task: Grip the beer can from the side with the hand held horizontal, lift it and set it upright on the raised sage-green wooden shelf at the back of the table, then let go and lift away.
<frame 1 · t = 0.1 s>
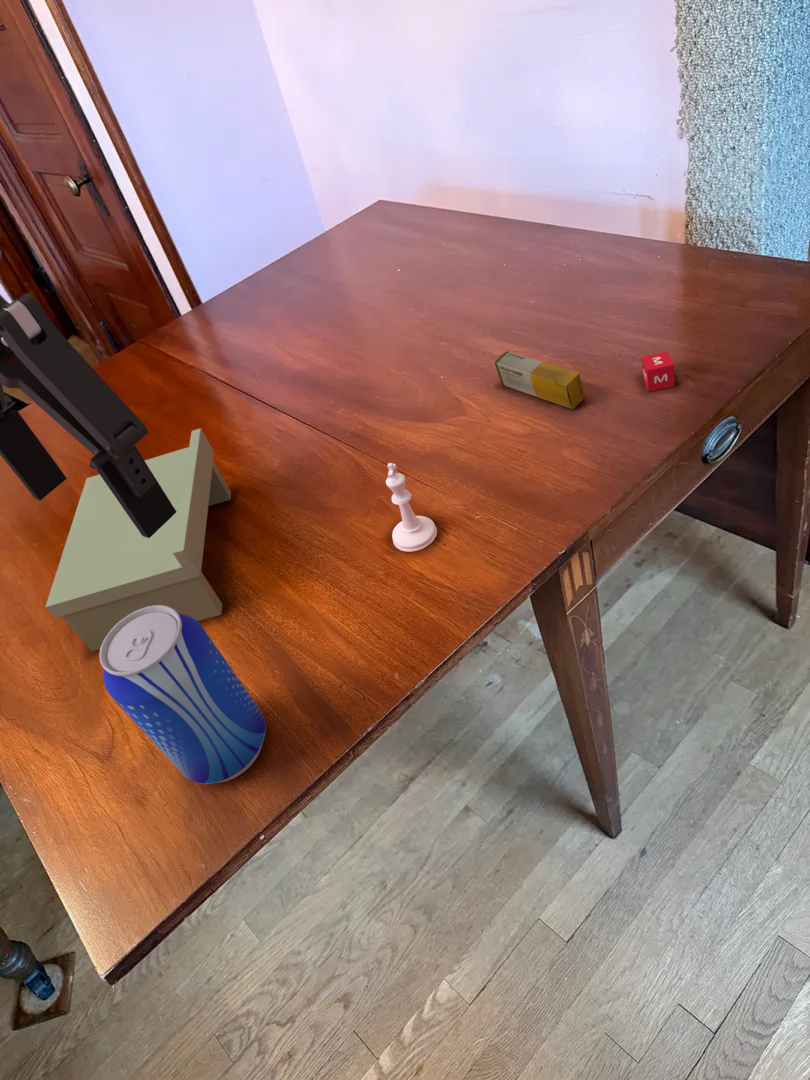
hand: (102, 505, 55), 25 cm above the table, tool pointing down, fingers open, 13 cm apart
red letter cube: (658, 383, 89), on the table
chess piece: (415, 536, 81), on the table
medication box: (541, 395, 94), on the table
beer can: (228, 748, 67), on the table
shelf: (167, 565, 88), on the table
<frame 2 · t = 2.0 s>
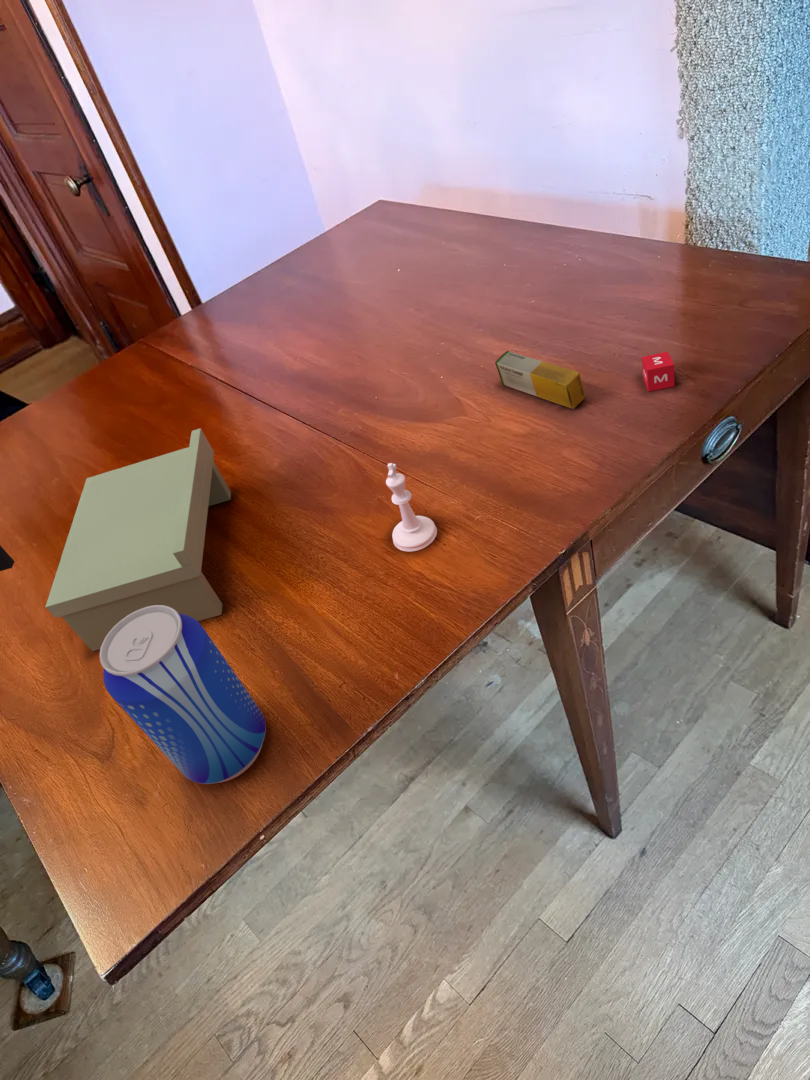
nothing on the table moved.
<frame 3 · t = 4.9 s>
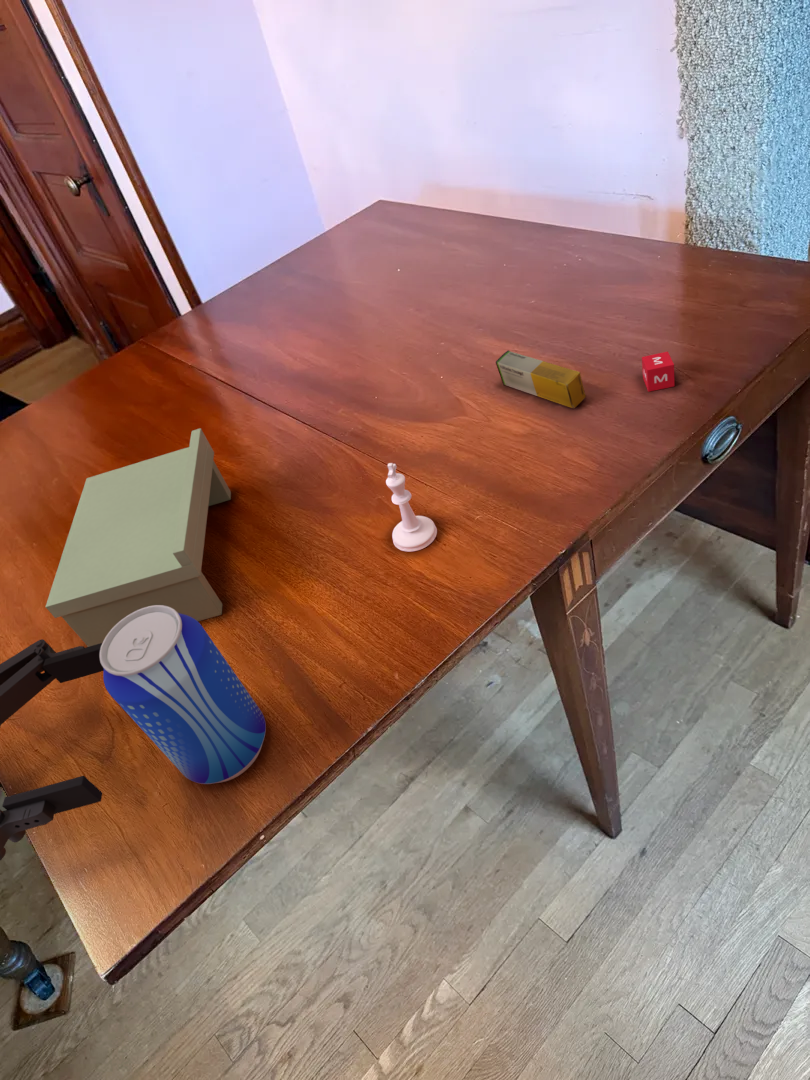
hand: (107, 714, 62), 9 cm above the table, tool horizontal, fingers open, 13 cm apart
nothing on the table moved.
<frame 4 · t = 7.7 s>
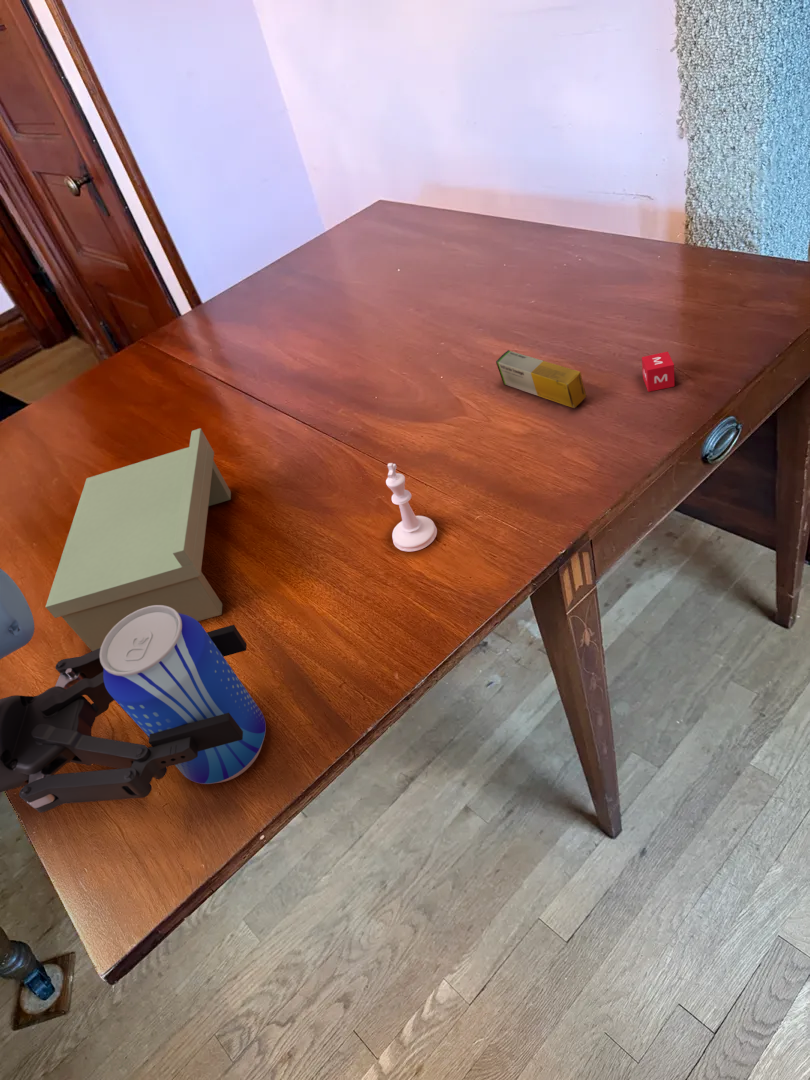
hand: (237, 679, 61), 8 cm above the table, tool horizontal, fingers closed on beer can, 8 cm apart
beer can: (228, 748, 67), on the table, touching gripper
everything else where it was.
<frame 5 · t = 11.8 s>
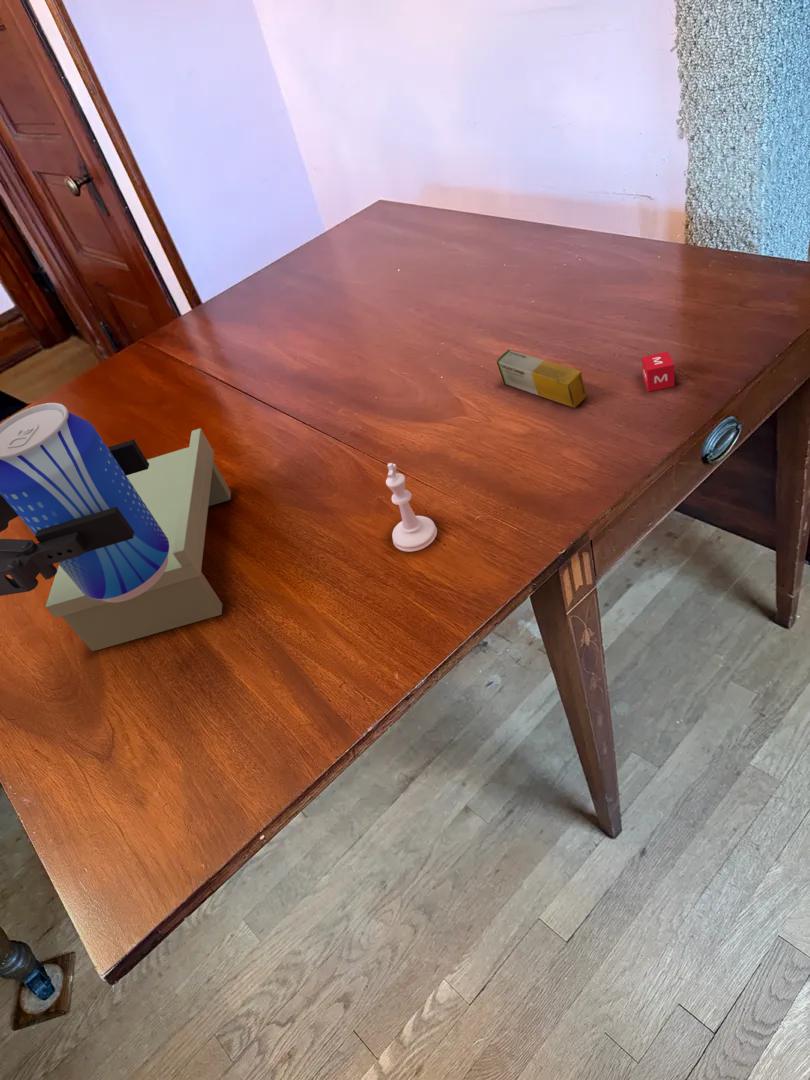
hand: (133, 486, 60), 22 cm above the table, tool horizontal, fingers closed on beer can, 8 cm apart
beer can: (133, 574, 66), point 14 cm above the table, touching gripper
everything else where it was.
when the fingers open (16 cm above the table, at t = 16.1 s): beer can stays where it is, resting on shelf.
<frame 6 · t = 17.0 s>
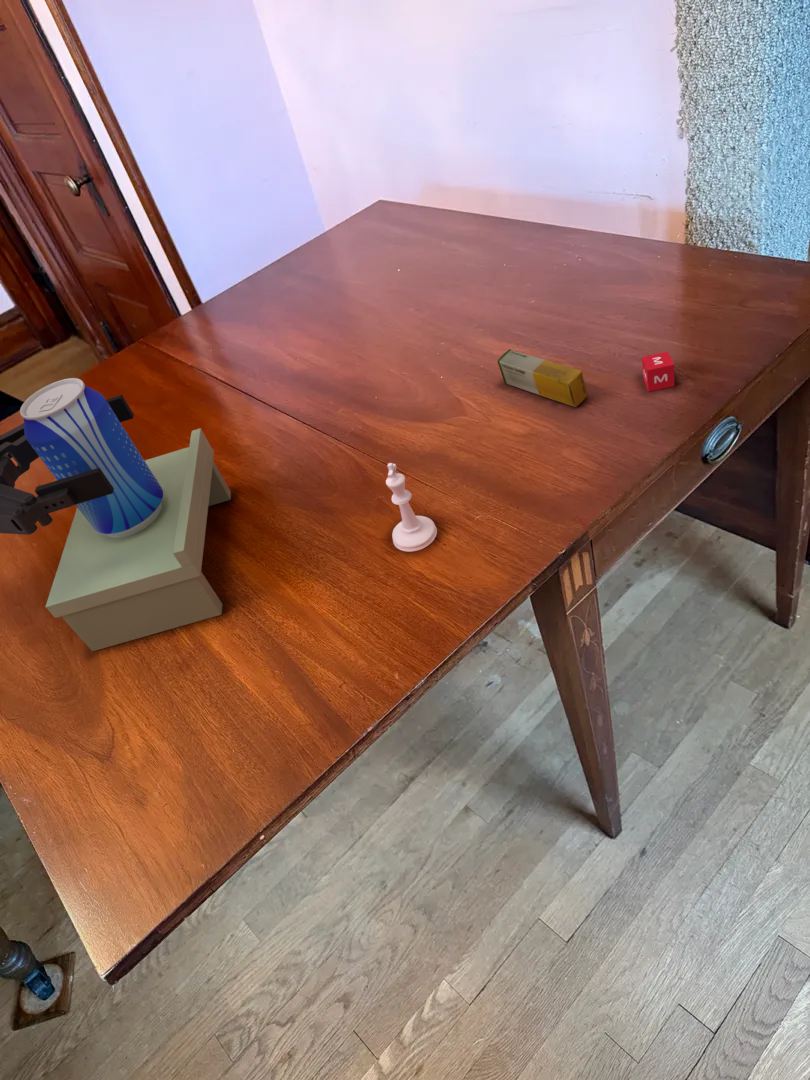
hand: (118, 441, 77), 17 cm above the table, tool horizontal, fingers open, 13 cm apart
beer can: (134, 517, 83), point 8 cm above the table, touching shelf
everything else where it was.
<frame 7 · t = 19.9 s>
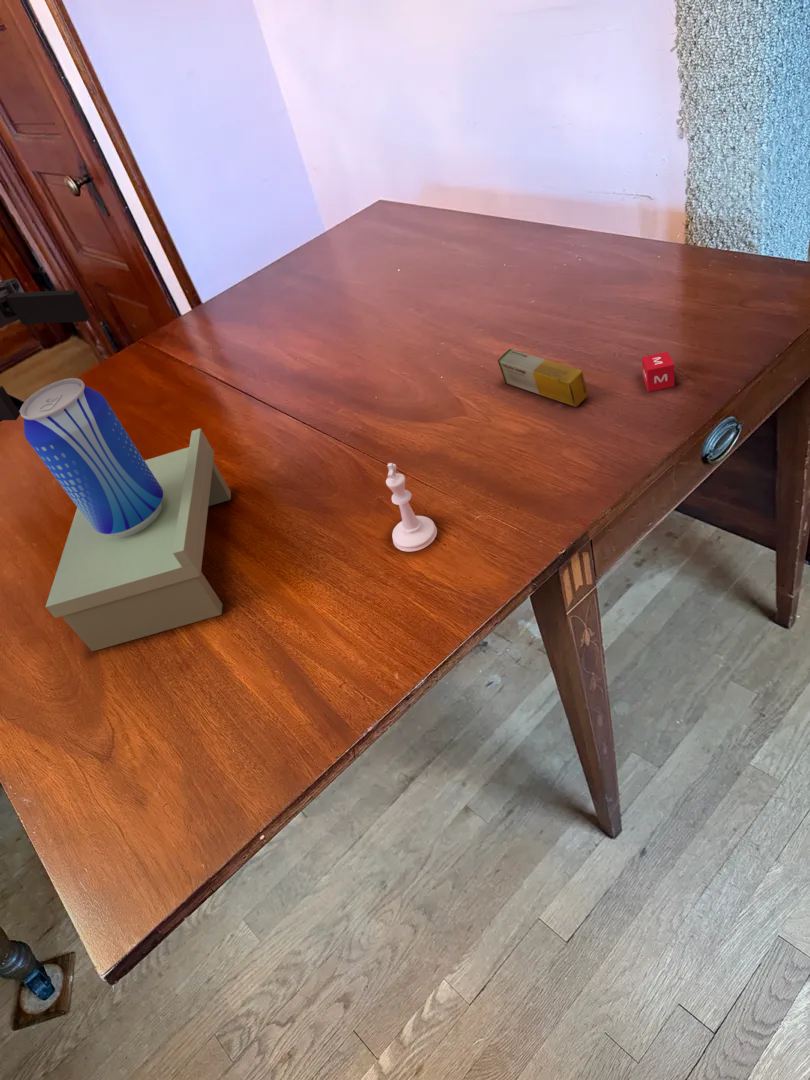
hand: (48, 351, 62), 31 cm above the table, tool horizontal, fingers open, 13 cm apart
nothing on the table moved.
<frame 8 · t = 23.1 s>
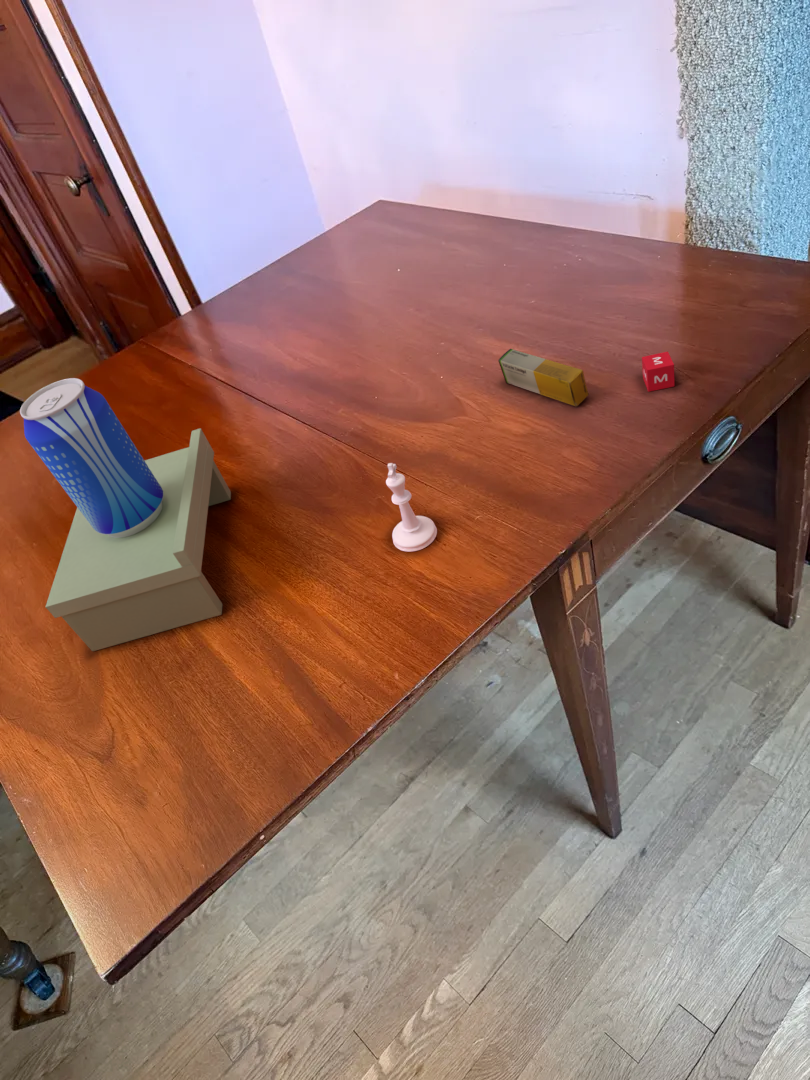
nothing on the table moved.
at the end: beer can inside the target area on the shelf (0.0 cm from its centre), point 7.8 cm above the shelf's base; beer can tilted 0°; the gripper is holding nothing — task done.
